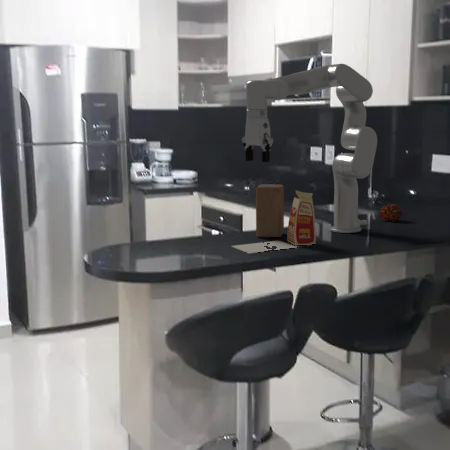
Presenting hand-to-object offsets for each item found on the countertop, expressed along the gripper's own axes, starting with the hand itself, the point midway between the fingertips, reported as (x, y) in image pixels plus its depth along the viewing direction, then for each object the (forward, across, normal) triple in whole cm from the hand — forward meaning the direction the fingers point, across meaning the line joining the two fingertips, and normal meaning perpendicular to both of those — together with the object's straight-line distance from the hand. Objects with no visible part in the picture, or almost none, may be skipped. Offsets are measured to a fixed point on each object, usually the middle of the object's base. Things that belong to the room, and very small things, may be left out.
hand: (257, 161), depth 240 cm
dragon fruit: (+31, -2, -73) cm, 80 cm away
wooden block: (+31, +6, -11) cm, 33 cm away
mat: (+30, -10, +6) cm, 33 cm away
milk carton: (+31, -13, -10) cm, 35 cm away
